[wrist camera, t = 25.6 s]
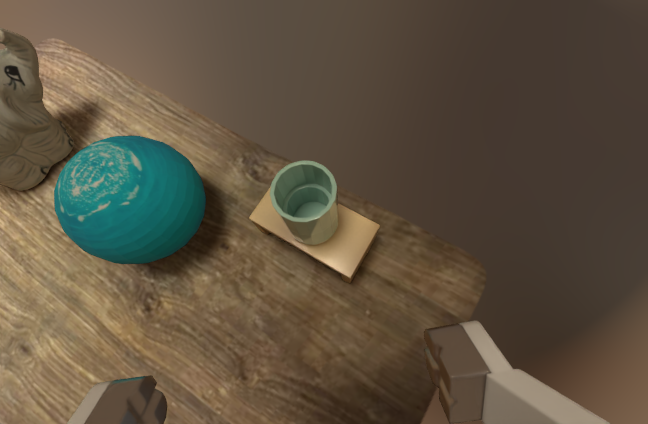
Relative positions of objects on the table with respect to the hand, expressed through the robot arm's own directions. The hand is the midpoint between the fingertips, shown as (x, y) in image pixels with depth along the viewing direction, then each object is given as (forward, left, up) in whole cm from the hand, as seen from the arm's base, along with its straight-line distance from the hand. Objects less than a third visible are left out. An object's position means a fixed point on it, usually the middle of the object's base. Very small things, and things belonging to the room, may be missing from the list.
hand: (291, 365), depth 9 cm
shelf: (+10, -7, -29) cm, 32 cm away
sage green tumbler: (+10, -7, -24) cm, 27 cm away
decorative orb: (+26, +6, -30) cm, 40 cm away
